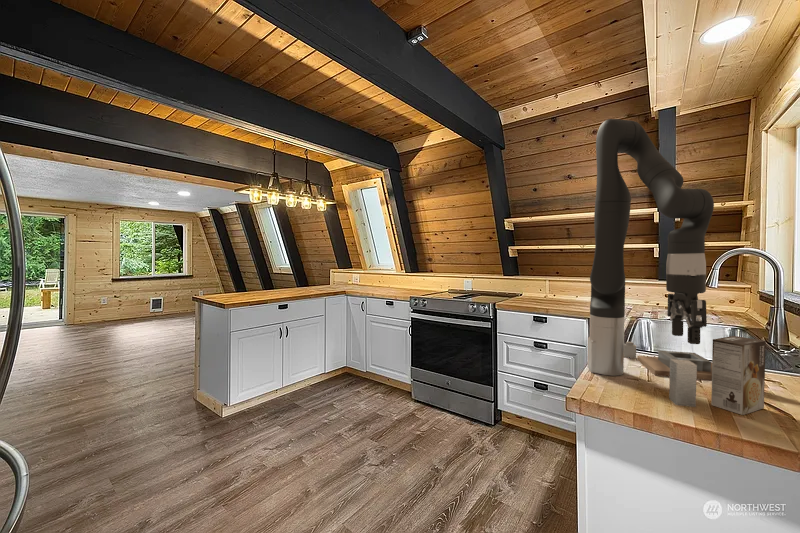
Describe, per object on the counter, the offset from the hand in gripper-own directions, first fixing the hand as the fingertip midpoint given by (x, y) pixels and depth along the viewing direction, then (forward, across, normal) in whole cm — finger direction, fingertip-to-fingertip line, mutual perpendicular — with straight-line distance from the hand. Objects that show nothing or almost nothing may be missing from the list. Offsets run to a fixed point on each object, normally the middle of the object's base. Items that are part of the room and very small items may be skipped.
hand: (685, 339), depth 89 cm
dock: (+16, -29, +11) cm, 34 cm away
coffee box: (+16, -1, +11) cm, 19 cm away
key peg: (+15, 0, -1) cm, 16 cm away
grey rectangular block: (+15, -41, -2) cm, 44 cm away
